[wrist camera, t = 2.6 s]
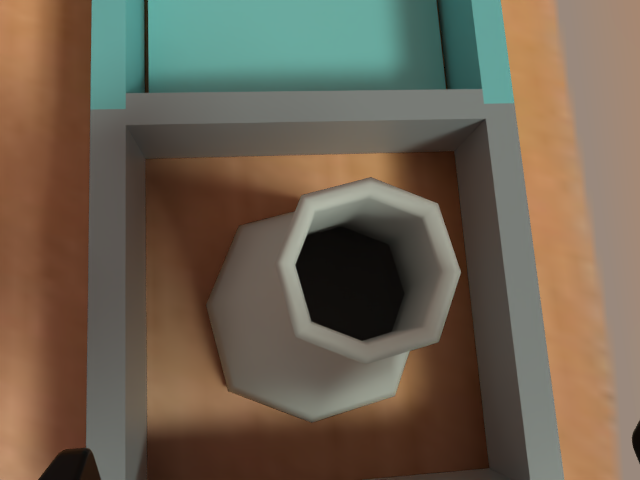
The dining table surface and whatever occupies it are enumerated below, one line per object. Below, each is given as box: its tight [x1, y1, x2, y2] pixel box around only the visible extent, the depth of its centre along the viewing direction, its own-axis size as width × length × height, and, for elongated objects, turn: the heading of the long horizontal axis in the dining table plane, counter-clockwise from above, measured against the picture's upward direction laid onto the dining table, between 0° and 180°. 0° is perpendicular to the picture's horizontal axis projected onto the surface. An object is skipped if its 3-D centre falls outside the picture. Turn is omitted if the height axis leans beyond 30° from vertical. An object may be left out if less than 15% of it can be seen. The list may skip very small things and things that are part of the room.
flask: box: [206, 177, 461, 423], centre depth 15 cm, size 7×7×10 cm
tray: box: [86, 0, 564, 480], centre depth 19 cm, size 25×13×3 cm, turn 4°
